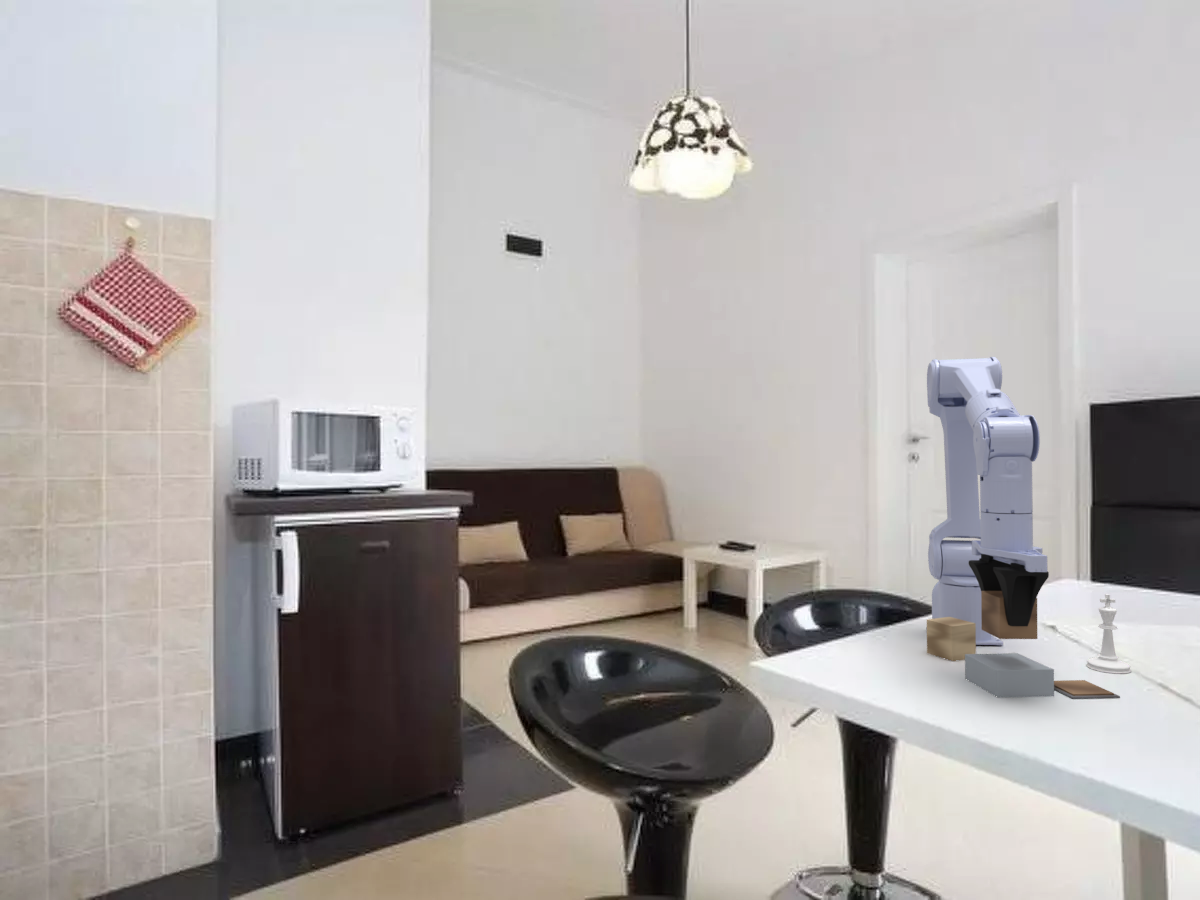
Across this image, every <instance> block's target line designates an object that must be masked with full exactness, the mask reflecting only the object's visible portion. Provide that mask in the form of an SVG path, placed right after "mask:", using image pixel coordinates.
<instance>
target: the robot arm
mask: <svg viewBox="0 0 1200 900" xmlns="http://www.w3.org/2000/svg"><path fill="white" fill-rule="evenodd" d="M1002 384H1003V369H1002V364H1001V361H1000V360H999V359H998V357H996V356H989V357H985V358H984V357H981V358H979V357H978V358H977V357H976V358H958V359H957V358H955V359H937V358H935V359H934V358H933V359H932V360H931V361H930V362H929V363H928V365H927V372H926V390H927V393H926V394H927V407H928V409H929V413H930V414H932V415H934V416H936V417H938V418H940V419H939V420H940V422H941V426H942V427H941V428H942V431H943V447H944V449H943V450H944V470H945V493H946V497H945V498H946V513H947V514H946V517H947V518H946V519H945V520H943V522H941V523H939V524H938V525H936V526H935V527H934V528H933V529H932V530H931V532H930V533H929V536H928V539H929V540H928V541H929V544H928V551H927V552H928V553H927V554H928V555H927V557H928V559H927V562H928V568H929V573H930V574H929V575H931V576H932V577H933V578H934V579H935V580H937V583H936V584H935V585H934V587H933V588H932V591H931V619H935V618H943V617H953V618H957V619H961V620H965V621H968V622H972V623H976V646H978V645H979V646H981V645H982V646H983V645H984V646H1003V645H1004V641H1003V640H1002V639H999V638H997V637H995V636H993V635H991V634H989V633H987V632H985V631H983V630H982V619H981V591H1002V594H1003V598H1004V606H1005V614H1006V619H1007V622H1008V625H1010V626H1028V624H1029V621H1030V617H1031V614H1032V610H1033V606H1034V603H1035V600H1036V598H1038V595H1039V593H1040V591H1041V589H1042V588H1043V585H1044V584H1045V583H1046V581H1048V578H1049V576H1050V574H1049V573H1050V571H1048V555H1046V554H1043V547H1039V546H1034V531H1033V530H1034V525H1033V524H1034V523H1033V522H1034V521H1033V519H1034V518H1033V517H1034V515H1033V512H1034V511H1033V509H1034V508H1033V462H1036V460H1037V458H1038V456H1039V452H1040V443H1041V439H1040V437H1041V435H1040V429H1039V424H1038V421H1037V419H1036V417H1035V416H1034V415H1033V414H1026V415H1025V414H1024V415H1023V414H1020V412H1019V410H1018V409H1017V408H1016V406H1015V405H1014V403H1013V401H1012V400H1011V398H1010V397H1009V396H1008V395H1007V393H1006V392H1004V391H1002V390H1001V389H1002ZM978 476H979V477H978ZM945 538H952V540H951V539H945ZM955 538H957V539H958V540H957V539H956V540H955ZM960 539H973V540H960ZM974 539H977V540H974ZM925 629H926V631H927V626H926V628H925Z"/></svg>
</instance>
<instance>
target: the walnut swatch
mask: <svg viewBox="0 0 1200 900" xmlns="http://www.w3.org/2000/svg"><path fill="white" fill-rule="evenodd" d="M1054 691H1056V692H1057V693H1061V694H1062V695H1064V696H1066V697H1068V698H1070V699H1075V700H1076V699H1077V700H1078V699H1079V700H1080V699H1082V700H1083V699H1118V698H1119V699H1120V698H1121V696H1120V695H1119V694H1116V693H1114V692H1113V691H1109V690H1107V689H1105V688H1103V687H1100V686H1099V685H1097V684H1094V683H1091V682H1090V681H1087V680H1085V679H1081V680H1080V679H1079V680H1077V679H1076V680H1075V679H1074V680H1054Z"/></svg>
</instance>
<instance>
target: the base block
mask: <svg viewBox="0 0 1200 900" xmlns="http://www.w3.org/2000/svg"><path fill="white" fill-rule="evenodd" d="M1054 672H1055V669H1053V668H1051V667H1049V666H1047V665H1045V664H1042V663H1041V662H1038V661H1036V660H1034V659H1031V658H1029V657H1027V656H1025V655H1023V654H1021V653H1018V652H1011V653H1010V652H1009V653H1005V652H1004V653H1003V652H1002V653H976V654H965V660H964V676H965V677H964V679H965V680H966V679H967V680H966V681H968V680H969V681H968V682H970V683H971V682H972V684H973V683H974V684H973V685H975V684H976V685H975V686H977V687H978V686H979V687H978V688H980V687H981V688H980V689H982V690H984V691H985V690H986V692H987V691H988V693H989V694H991V695H992V694H993V696H994V695H995V696H994V697H996V696H997V697H996V698H1022V697H1023V698H1029V697H1031V698H1033V697H1034V698H1035V697H1037V698H1038V697H1054V696H1055V690H1054V681H1055V673H1054Z"/></svg>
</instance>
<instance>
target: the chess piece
mask: <svg viewBox="0 0 1200 900" xmlns="http://www.w3.org/2000/svg"><path fill="white" fill-rule="evenodd" d="M1099 603H1101V604H1102V603H1103V604H1104V606H1100V607H1099V608H1098V611H1099V614H1100V617H1101V620H1102V621H1103V622H1102V623H1099V624H1098V628H1100V629H1103V635H1102V642H1101V649H1100V653H1098V654H1097V656H1096V657H1089V658H1088V659H1087V660H1086V665H1085V666H1086V667H1087V668H1089V669H1091V670H1094V671H1098V672H1102V673H1106V674H1107V673H1108V674H1116V675H1117V674H1120V675H1125V674H1130V673H1131V672H1132V670H1131V666H1130V663H1128V662H1125V661H1122V660H1121V659H1119V658H1120V657H1119V656H1118V655H1117V654H1116V649H1115V642H1114V636H1113V630H1114V631H1116V630H1118V625H1115V624H1113V622H1114V620H1115V617H1116V615H1117V612H1118V610H1117V609H1116V608H1114V607H1112V606H1111V604H1116V599H1115V598H1111V595H1110V594H1109V593H1105V594H1104V598H1099Z"/></svg>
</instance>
